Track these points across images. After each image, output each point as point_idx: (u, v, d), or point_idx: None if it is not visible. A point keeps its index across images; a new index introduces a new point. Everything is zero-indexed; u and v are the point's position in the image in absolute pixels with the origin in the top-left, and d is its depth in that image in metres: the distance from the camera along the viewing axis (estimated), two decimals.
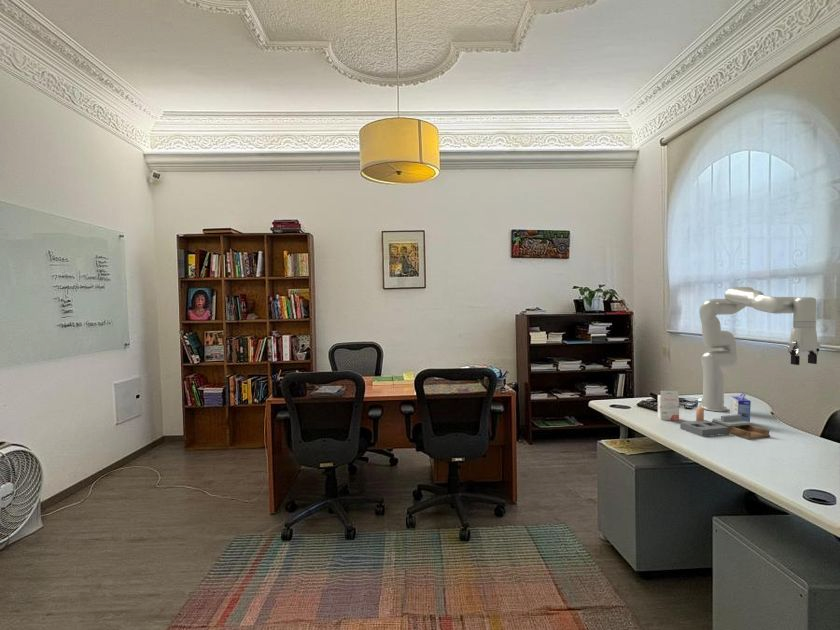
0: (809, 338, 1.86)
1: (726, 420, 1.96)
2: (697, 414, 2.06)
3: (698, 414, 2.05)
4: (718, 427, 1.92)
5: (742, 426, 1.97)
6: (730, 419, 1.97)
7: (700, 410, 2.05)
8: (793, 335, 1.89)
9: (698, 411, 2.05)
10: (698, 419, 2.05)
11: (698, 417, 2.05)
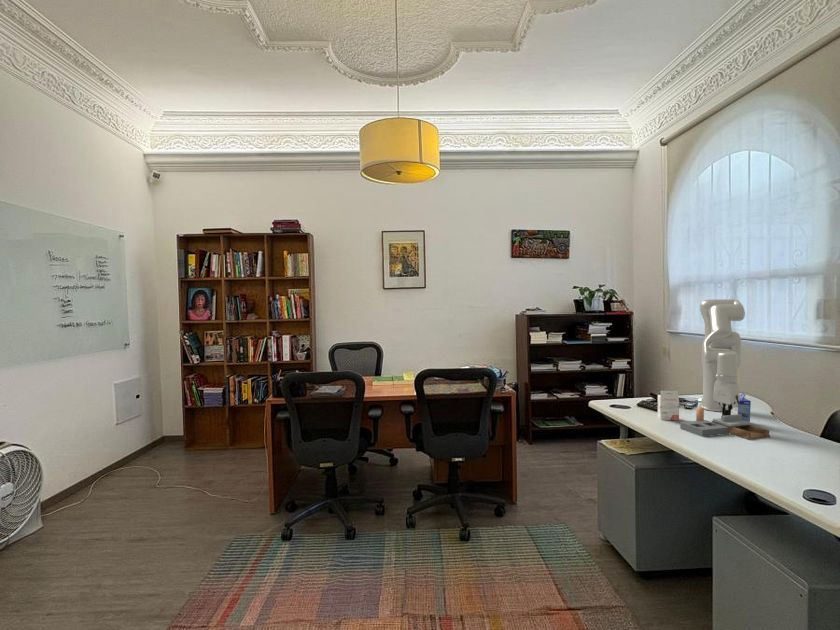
0: None
1: (726, 420, 1.96)
2: (697, 414, 2.06)
3: (698, 414, 2.05)
4: (718, 427, 1.92)
5: (742, 426, 1.97)
6: (730, 419, 1.97)
7: (700, 410, 2.05)
8: (734, 390, 1.95)
9: (698, 411, 2.05)
10: (698, 419, 2.05)
11: (698, 417, 2.05)
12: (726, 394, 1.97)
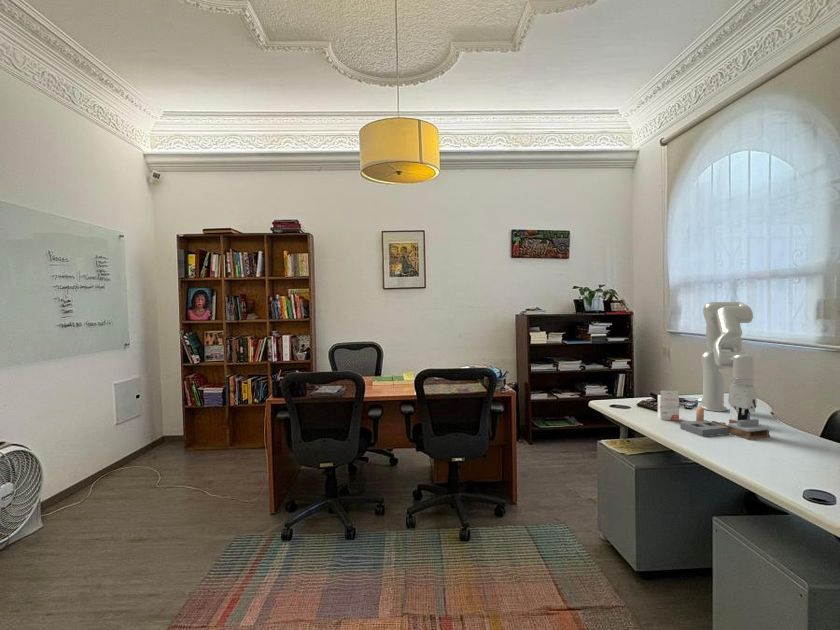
0: None
1: (743, 425, 1.88)
2: (697, 414, 2.06)
3: (698, 414, 2.05)
4: (718, 427, 1.92)
5: None
6: (747, 424, 1.89)
7: (700, 410, 2.05)
8: (751, 393, 1.87)
9: (698, 411, 2.05)
10: (698, 419, 2.05)
11: (698, 417, 2.05)
12: (742, 398, 1.89)
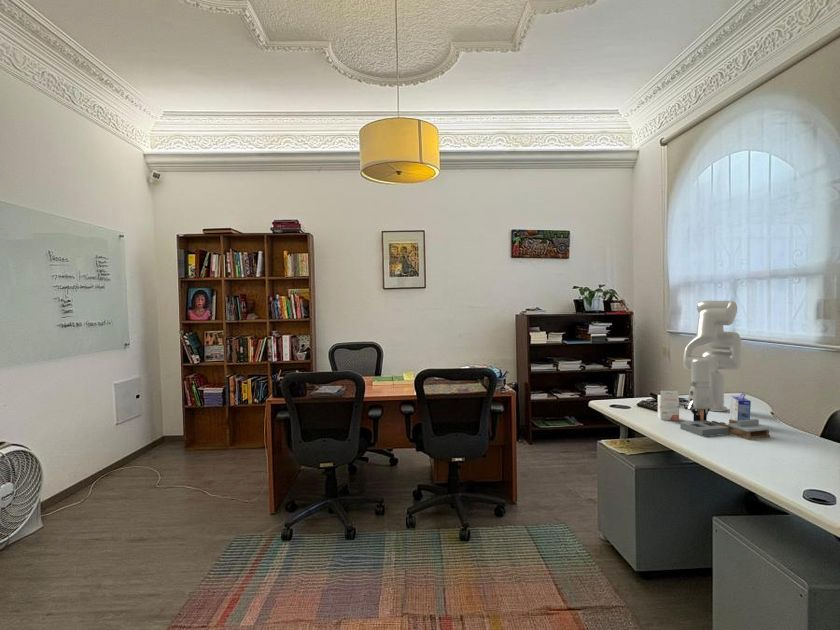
0: None
1: (743, 425, 1.88)
2: None
3: None
4: (718, 427, 1.92)
5: None
6: (747, 424, 1.89)
7: (700, 410, 2.05)
8: None
9: None
10: None
11: None
12: (709, 399, 2.04)
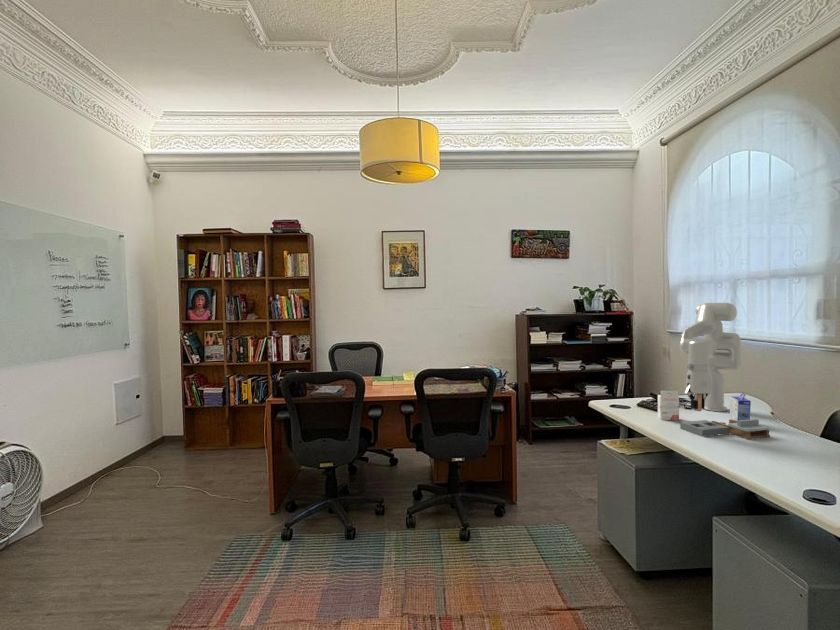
0: None
1: (743, 425, 1.88)
2: None
3: None
4: (718, 427, 1.92)
5: None
6: (747, 424, 1.89)
7: (698, 395, 1.93)
8: None
9: None
10: None
11: None
12: (707, 383, 1.92)
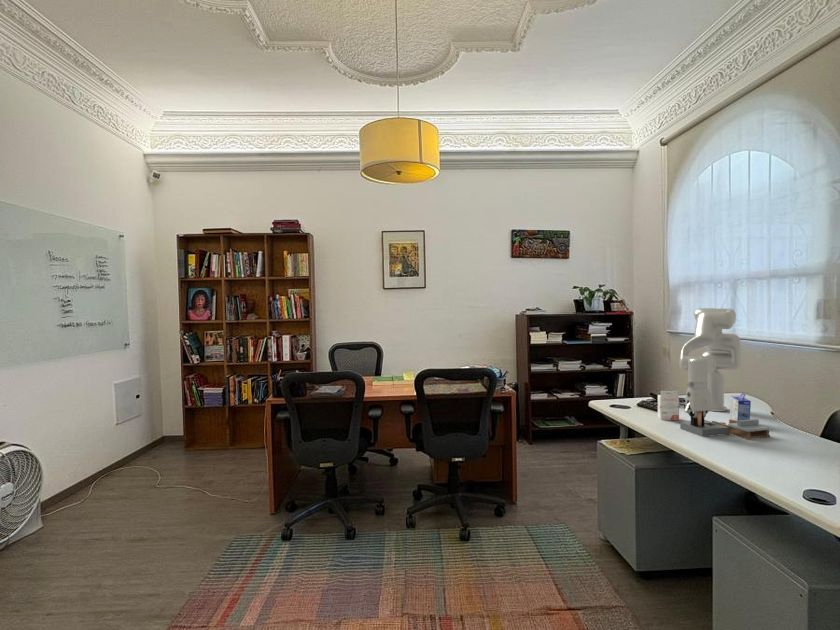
0: None
1: (743, 425, 1.88)
2: None
3: None
4: (718, 427, 1.92)
5: None
6: (747, 424, 1.89)
7: (698, 412, 1.93)
8: None
9: None
10: None
11: None
12: (707, 401, 1.92)
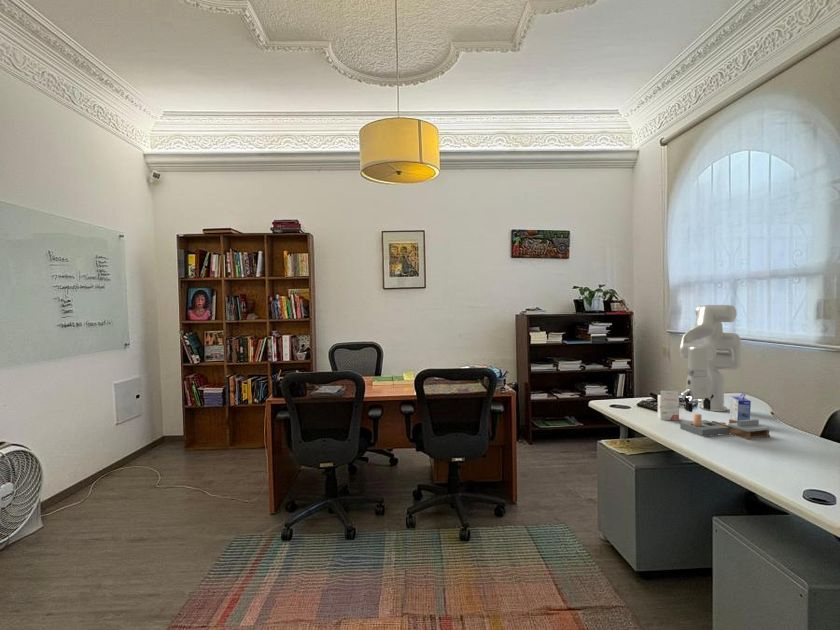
0: None
1: (743, 425, 1.88)
2: (694, 421, 1.95)
3: (695, 421, 1.94)
4: (718, 427, 1.92)
5: None
6: (747, 424, 1.89)
7: (697, 417, 1.94)
8: None
9: (695, 418, 1.94)
10: None
11: (695, 424, 1.94)
12: (707, 388, 1.93)
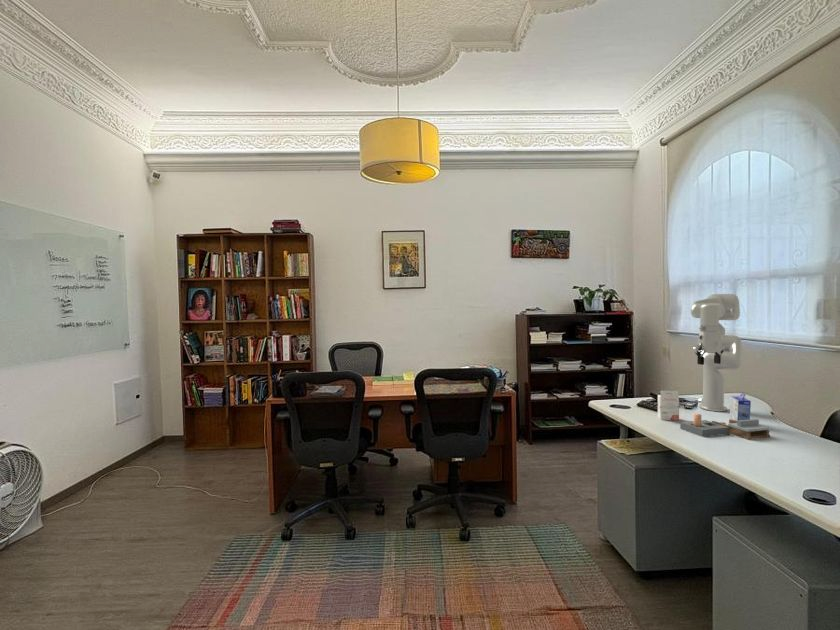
0: None
1: (743, 425, 1.88)
2: (694, 421, 1.95)
3: (695, 421, 1.94)
4: (718, 427, 1.92)
5: None
6: (747, 424, 1.89)
7: (697, 417, 1.94)
8: None
9: (695, 418, 1.94)
10: None
11: (695, 424, 1.94)
12: (718, 343, 2.08)
